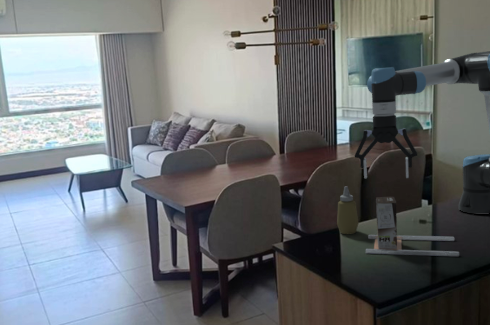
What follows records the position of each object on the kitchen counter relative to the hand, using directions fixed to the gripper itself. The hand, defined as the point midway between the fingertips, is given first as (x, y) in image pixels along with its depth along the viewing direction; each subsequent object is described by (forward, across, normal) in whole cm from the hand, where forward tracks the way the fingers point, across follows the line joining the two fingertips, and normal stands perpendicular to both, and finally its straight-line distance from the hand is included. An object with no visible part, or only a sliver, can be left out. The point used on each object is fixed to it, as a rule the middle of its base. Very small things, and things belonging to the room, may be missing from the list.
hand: (386, 177), depth 169 cm
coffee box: (+24, 0, 0) cm, 24 cm away
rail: (+24, +7, 0) cm, 25 cm away
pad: (+24, 0, 0) cm, 24 cm away
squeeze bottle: (+24, -15, +14) cm, 32 cm away
